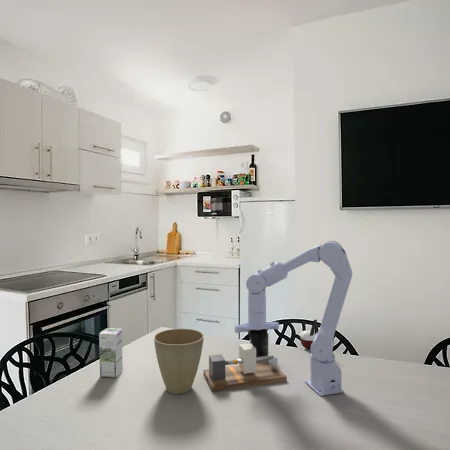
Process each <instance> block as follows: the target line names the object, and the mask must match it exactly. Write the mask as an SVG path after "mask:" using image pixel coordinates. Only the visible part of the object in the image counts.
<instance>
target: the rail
mask: <svg viewBox="0 0 450 450" xmlns="http://www.w3.org/2000/svg"><path fill="white" fill-rule="evenodd" d="M260 361H262V362H264V361H268V362H269V369H270V370H271V371H275V370H277V367H278V357H277V356H275V355H268V356H263V357H256V362H260ZM239 363H243V359H232V360H225V366H230V365H231V366H232V365H239Z"/></svg>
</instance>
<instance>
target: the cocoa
mask: <svg viewBox="0 0 450 450" xmlns="http://www.w3.org/2000/svg"><path fill="white" fill-rule="evenodd" d="M317 322H318V319H313V320H312V324H311V329H310V330H303V331H301V332H300V333H299V337H300V344H301V346H302V347H303V348H305V349H308V350H309V349H310V347H311V344H312V343H313V338H314V335H315V334H316V333H315V330H316V326H317Z"/></svg>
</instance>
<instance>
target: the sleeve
mask: <svg viewBox="0 0 450 450" xmlns="http://www.w3.org/2000/svg"><path fill="white" fill-rule="evenodd" d="M238 358H239V359H243V363H239V364H238V366H239V368H240V369H241V370H242V372H243V373H244V374H246V373H254V372H256V363H257V361H256V348H255V347H254V346H253V345H252V344H251V343H250V342H248V343H242V344H241V343H240V344H238Z"/></svg>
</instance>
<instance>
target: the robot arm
mask: <svg viewBox="0 0 450 450" xmlns="http://www.w3.org/2000/svg"><path fill="white" fill-rule="evenodd" d="M347 255H348V254H347V252H346V250H345V249H344V247H343V246H342V245H341V244H340V243H339V242H337V241H335V240H328V241H326V242H324V244H322V243H320V244H318V245H315V246H313V247H310V248H308V249H306V250H304V251H303V252H301V253H300V254H298V255H296V256H295V257H292V258H291V259H289V260H287V261H285V262H281V261H276V262H275V261H273V262H270V263H269V265H268V266H267V267H265V268H263V269H258V270H257V272H256V273H254V274H251V275H250V276H249V277H248V278H247V279H246V282H245V284H246V285H245V286H246V289H247V291H248V295H247V297H248V298H247V302H248V303H247V304H248V305H247V311H248V312H247V313H248V315H247V316H248V317H247V318H248V319H247V320H248V321H247V322H246V323H242V324H241V323H240V324H237V325H236V324H235V325H234V332H235V333H236V334H240V333H247V334H248V335H249V339H250V338H251V340H252V344H253V346H254V347H255V348H256V354H260V351H261V347H262V344H263V341H264V339H265V337H266V336H267V332H268V331H267V330H280V323H279V322H278V321H267V296H266V295H267V293H266V288H268V287H272V286H274V285H275V284H278V283H279V282H281V281H283V280H285V279H287V278H288V274H289V272H291V271H293V270H295V269H297V268H300V267H302V266H303V265H305V264H308V263H310V262H312V263H320V261H321V262H323V263H324V264H325V265H326V266H327V267H329V269H330V271H331V272H332V273H333V275H334V279H333V282H332V286H331V290H330V293H329V296H328V300H327V303H326V307H325V310H324V314H323V316H322V320H321V324H320V327H319V330H318V331H316V333H314V334H315V335H314V338H313V343H312V344H311V347H310V357H309V358H310V362H309V363H310V366H309V367H310V379H305V380H304V383H306V384H307V385H308V386H309V387H310V388H311V389H312V390H314V391H315V392H316V393H317V394H318V395H319V396H330V395H334V394H340V393H341V394H342V393H345V390H344V389H343V388H342V369H341V368H340V366H339V365H338V364H337V362H336V355H335V354H334V352H333V349H334V345H335V339H334V337H335V334H336V329H337V327H338V323H339V320H340V317H341V315H342V313H341V312H342V310H343V306H344V304H345V300H346V297H347V294H348V290H349V287H350V285H351V282H352V278H353V269H352V266H351V264H350V261H349V259H348V256H347ZM266 331H267V332H266Z"/></svg>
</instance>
